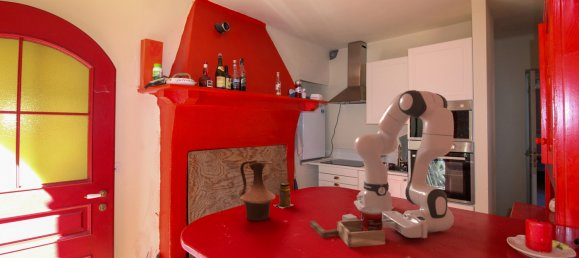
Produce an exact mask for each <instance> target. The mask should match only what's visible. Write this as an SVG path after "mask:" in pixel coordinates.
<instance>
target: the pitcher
mask: <svg viewBox="0 0 579 258" xmlns="http://www.w3.org/2000/svg"><path fill="white" fill-rule="evenodd" d="M272 164H273V162H272V161H270V160H261V161H258V160H257V159H252V160H251V159H250V160H244V161H243V162H242V163H241V165H240V169H239V170H240V175H241V178H242V182H243V187H242V191H241V192H240V193H239V195H238V199H240V200H241V201H243V203H244V204H245V205H244V206H245V207H244V208H245V212H246V219H247V220H249V221H250V222H263V221H267V220H268V219H270V210H271V209H270V208H271V202H272V201H273V200H275V199H276V195H275V194H274V193H272V192H271V191H270V190H268V189H267V187H266V186H265V184H264V181H263V171H264V169H265V167H266V166H267V165H272ZM245 165H247V166H248V168H250V169H251V171H253V181H252V184H251V185H250V187H249V189H248V190H247V179H246V173H245V170H244V167H245Z"/></svg>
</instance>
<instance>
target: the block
mask: <svg viewBox="0 0 579 258" xmlns="http://www.w3.org/2000/svg"><path fill="white" fill-rule="evenodd" d="M341 216H342V218H341V219H342V220H341V221H347V220H358V217H357V216H356V215H354V214H353V213H349V214H343V215H341Z"/></svg>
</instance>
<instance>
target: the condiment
mask: <svg viewBox="0 0 579 258" xmlns="http://www.w3.org/2000/svg"><path fill="white" fill-rule="evenodd" d="M278 191H279V192H278V197H279V201H278V202H279V203H277V204H273V206H274V207H276V206H278V207H279V208H281V209H285V208H290V207H292V206H294V204H291V188H290V183H289V182H288V183H287V182H281V183H280V184H279V190H278ZM279 205H280V206H279ZM278 207H277V208H278Z"/></svg>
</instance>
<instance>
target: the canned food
mask: <svg viewBox="0 0 579 258" xmlns="http://www.w3.org/2000/svg"><path fill="white" fill-rule="evenodd" d="M360 212H361V213H360V216H361V232H362V231H374V230H383V227H382V210H381V209H379V208H376V207H363V208H362V209H361V211H360Z"/></svg>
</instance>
